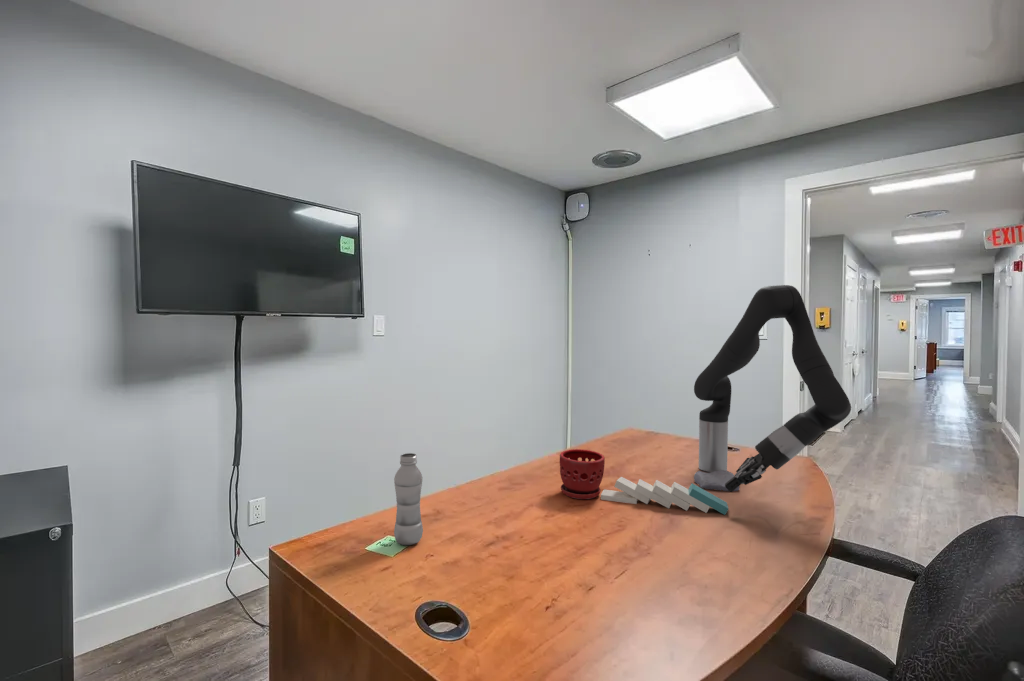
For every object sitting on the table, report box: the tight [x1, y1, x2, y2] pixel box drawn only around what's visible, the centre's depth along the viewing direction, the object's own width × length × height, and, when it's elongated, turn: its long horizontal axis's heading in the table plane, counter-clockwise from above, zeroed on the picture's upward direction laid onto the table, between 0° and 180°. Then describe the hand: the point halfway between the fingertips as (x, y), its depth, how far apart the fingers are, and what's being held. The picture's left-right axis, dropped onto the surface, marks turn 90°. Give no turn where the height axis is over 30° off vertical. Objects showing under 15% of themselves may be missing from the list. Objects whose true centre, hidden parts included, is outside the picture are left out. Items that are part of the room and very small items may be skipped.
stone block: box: [693, 470, 740, 492], centre depth 151 cm, size 12×5×10 cm
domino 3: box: [635, 478, 673, 509], centre depth 136 cm, size 2×5×10 cm
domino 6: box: [687, 482, 730, 516], centre depth 132 cm, size 2×5×10 cm
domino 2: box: [613, 476, 652, 505], centre depth 139 cm, size 2×5×10 cm
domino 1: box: [600, 488, 639, 505], centre depth 140 cm, size 2×5×10 cm
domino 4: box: [652, 479, 692, 512], centre depth 134 cm, size 2×5×10 cm
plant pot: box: [559, 448, 606, 500], centre depth 143 cm, size 13×13×12 cm
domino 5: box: [670, 481, 711, 514], centre depth 133 cm, size 2×5×10 cm
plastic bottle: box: [393, 452, 424, 546], centre depth 111 cm, size 6×7×20 cm
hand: (727, 488), depth 130 cm, fingers closed
